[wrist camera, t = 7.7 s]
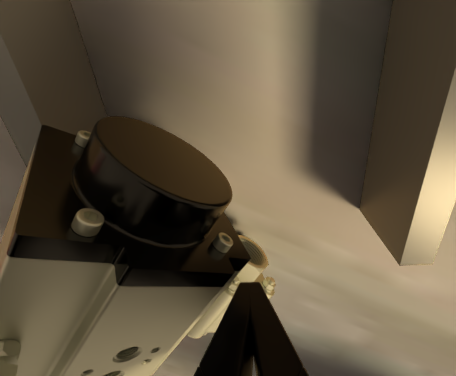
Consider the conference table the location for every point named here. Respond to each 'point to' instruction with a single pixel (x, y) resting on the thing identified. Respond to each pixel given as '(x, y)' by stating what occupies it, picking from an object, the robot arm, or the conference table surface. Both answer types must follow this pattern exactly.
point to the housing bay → (381, 132)
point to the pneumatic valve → (117, 253)
